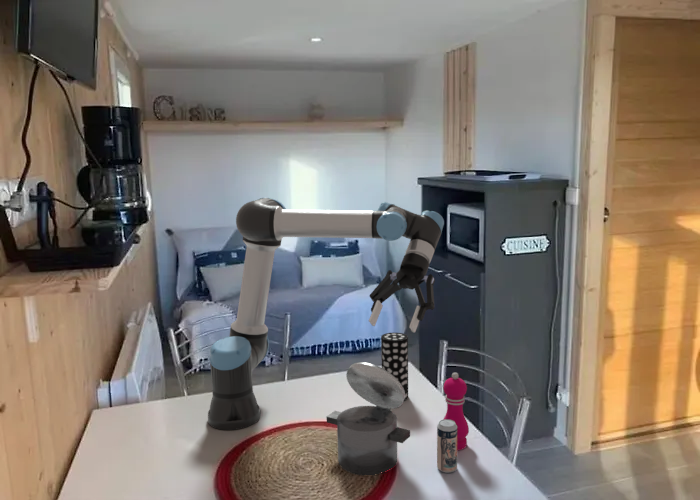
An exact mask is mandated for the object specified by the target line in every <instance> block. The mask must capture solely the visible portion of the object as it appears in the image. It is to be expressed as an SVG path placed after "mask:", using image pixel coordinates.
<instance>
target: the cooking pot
mask: <svg viewBox="0 0 700 500" xmlns="http://www.w3.org/2000/svg"><path fill="white" fill-rule="evenodd" d="M325 418H326V423H328V424H332V425H335V426H336V431H337V432H336V433H337V462H339V463H338V465H339V467H341V469H342V470H344V471H346V472H347V473H350V474H353V475H357V476H364V475H372V476H376V475H375V474H379V473H381V472H382V473H383V472H385V471H387V470H389V469H391V468H393V467H394V466H395V465H397V463H398V443H400V444H403V443H404V442H406V441H407V440H408V439H409V438H410V437H411V430H410V429H407V428H403V427H399V426H398V418H397V415H396V414H395V412H393V411H392V410H388V409H385V408H382V407H377V406H376V405H361V406H360V405H359V406H353V407H349V408H347V409H345V410H343V411H338V410H334V411H332V412H331V413H330V414H328V415H327V416H326V417H325ZM395 467H396V466H395ZM395 467H394V468H395ZM394 468H393V469H394ZM391 470H392V469H391ZM385 473H386V472H385ZM383 474H384V473H383ZM379 475H380V474H379Z"/></svg>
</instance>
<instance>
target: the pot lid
mask: <svg viewBox="0 0 700 500" xmlns="http://www.w3.org/2000/svg"><path fill="white" fill-rule="evenodd" d="M345 375H346V377H345V378H346V380H347V383H348V384H349V386H350V388H351V389H352V390H353V392H355V393H356V394H357V395H358V396H359V397H360V398H362V399H363V400H365V401H366V402H368V403H370V404H371V405H373V406H377V407H382V408H385V409H388V410H390V411H392V409H397V408H400V407H401V406H402V405H403V403H404V402H405V401H404V399H405V391H404V388H403V386H402V385H401V383H400V382H399V381H398V380H397V379H396V378H395V377H394V376H393V375H392V374H390V373H389V372H388V371H386V370H384V369H383V368H382V366H381V367H380V366H379V365H376V364H373V363H369V362H365V361H364V362H363V361H362V362H355V363H353V364H351V365H350V366H349V368H348V369H347V371H346V374H345Z"/></svg>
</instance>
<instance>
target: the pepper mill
mask: <svg viewBox="0 0 700 500" xmlns="http://www.w3.org/2000/svg"><path fill="white" fill-rule="evenodd" d="M467 390H468V386H467V383H466V382H465V380H463V379H462V378H461V377H459V373H458V372H452V374H451V377H449V378H447V379H446V380H445V382H444V383H443V392H444V394H445V396H444V398H445V399H444V401H445V403H446V406H447V407H446V413H445V415H444V417H443V419H442V420H444V419H450V420H453V421H454V422H455V423H456V425H457V451H462V450H465V449H466V447H467V446H468V445H467V443H468V441H467V436H468V434H469V433H470V432H469V431H470V430H469V425H468V424H469V423H468V421H467V419H466V417H465V415H464V410H463V409H464V408H463V406H464V404H465V401H466V400H465V399H466V397H465V395H466V394H467Z"/></svg>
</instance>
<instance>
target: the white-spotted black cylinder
mask: <svg viewBox="0 0 700 500" xmlns="http://www.w3.org/2000/svg"><path fill="white" fill-rule="evenodd" d="M380 338H381V340H380V341H381V342H380V343H381V346H380V347H381V349H380V350H381V352H380V353H381V354H380V355H381V356H380V357H381V368H383V369H384V370H386V371H388V372H389V373H390V374H392V375H393V376H394V377H395V378H396V379H397V380H398V381H399V382H400V383H401V385H402V386H403V388H404V391H405V399H404V401H403V402H406V401H407V400H408V399H409V336H408V335H407V334H406V333H403V332H388V333H387V332H386V333H383V334H382V335H381V336H380Z"/></svg>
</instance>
